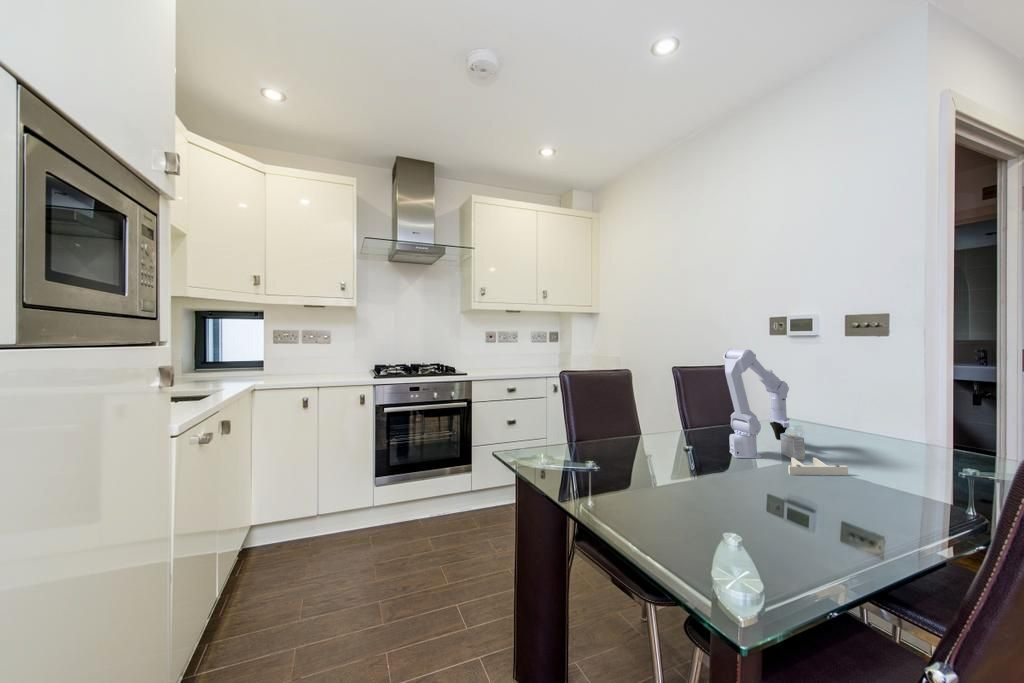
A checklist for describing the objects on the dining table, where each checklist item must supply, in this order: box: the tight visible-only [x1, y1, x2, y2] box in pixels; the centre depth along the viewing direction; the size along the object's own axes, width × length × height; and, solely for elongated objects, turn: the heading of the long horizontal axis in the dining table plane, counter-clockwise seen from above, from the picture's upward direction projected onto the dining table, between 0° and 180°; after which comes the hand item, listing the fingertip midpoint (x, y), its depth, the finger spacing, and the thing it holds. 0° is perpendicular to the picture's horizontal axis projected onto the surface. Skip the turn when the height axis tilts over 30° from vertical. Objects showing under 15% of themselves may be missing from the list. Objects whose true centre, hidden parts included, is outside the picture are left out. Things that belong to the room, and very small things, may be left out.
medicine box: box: [780, 432, 806, 461], centre depth 157 cm, size 8×4×9 cm, turn 179°
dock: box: [787, 457, 849, 476], centre depth 144 cm, size 18×11×3 cm, turn 77°
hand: (779, 439), depth 169 cm, fingers closed
